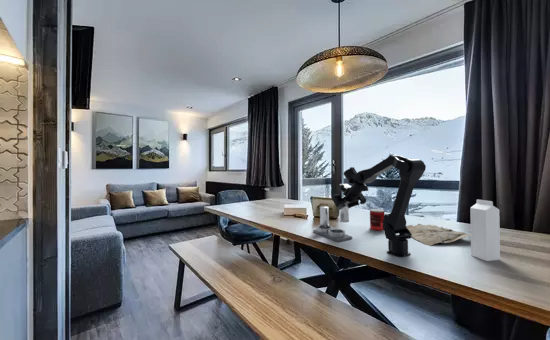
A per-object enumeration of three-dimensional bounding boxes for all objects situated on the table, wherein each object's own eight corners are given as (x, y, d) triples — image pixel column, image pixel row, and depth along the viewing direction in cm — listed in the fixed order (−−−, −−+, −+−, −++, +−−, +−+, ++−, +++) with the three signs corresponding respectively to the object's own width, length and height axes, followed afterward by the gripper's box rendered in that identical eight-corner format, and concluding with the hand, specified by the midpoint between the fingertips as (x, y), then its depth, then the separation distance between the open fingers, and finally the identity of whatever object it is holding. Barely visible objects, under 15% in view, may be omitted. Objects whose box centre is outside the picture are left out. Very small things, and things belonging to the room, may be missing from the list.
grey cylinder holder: (352, 239, 117) (351, 210, 117) (338, 242, 113) (337, 212, 112) (326, 229, 135) (325, 205, 134) (313, 232, 130) (312, 206, 130)
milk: (483, 254, 93) (482, 198, 93) (500, 260, 87) (499, 200, 87) (470, 255, 92) (469, 199, 92) (486, 261, 86) (485, 201, 86)
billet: (350, 221, 126) (350, 197, 126) (344, 222, 124) (343, 198, 124) (344, 220, 131) (343, 196, 131) (337, 221, 129) (337, 197, 129)
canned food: (381, 227, 137) (381, 208, 137) (387, 231, 129) (386, 211, 129) (368, 227, 138) (368, 208, 138) (372, 231, 130) (372, 211, 130)
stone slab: (485, 248, 101) (485, 237, 101) (417, 248, 105) (417, 237, 105) (442, 228, 134) (442, 219, 134) (392, 228, 138) (392, 220, 138)
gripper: (361, 178, 127) (348, 196, 138) (333, 179, 120) (321, 198, 131) (373, 193, 120) (358, 211, 130) (343, 196, 113) (330, 215, 123)
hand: (342, 208), depth 129 cm, fingers closed on billet, 5 cm apart
